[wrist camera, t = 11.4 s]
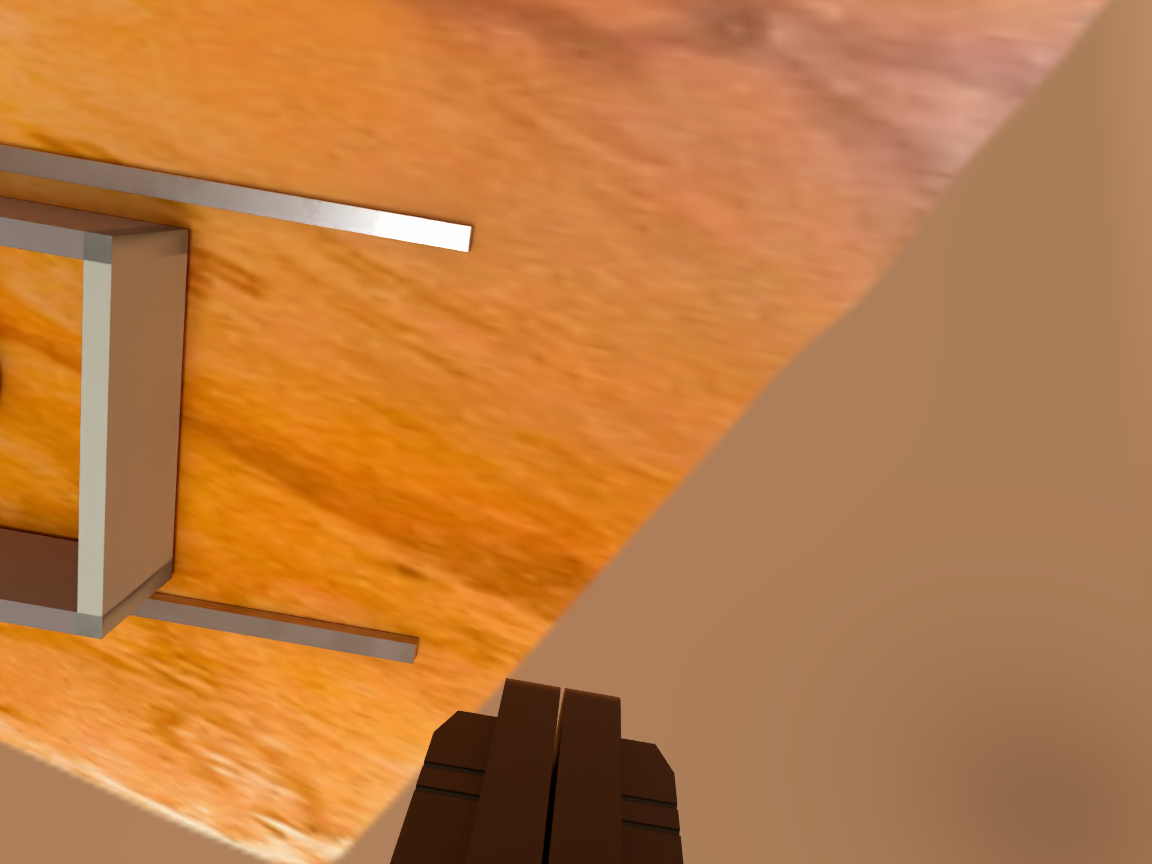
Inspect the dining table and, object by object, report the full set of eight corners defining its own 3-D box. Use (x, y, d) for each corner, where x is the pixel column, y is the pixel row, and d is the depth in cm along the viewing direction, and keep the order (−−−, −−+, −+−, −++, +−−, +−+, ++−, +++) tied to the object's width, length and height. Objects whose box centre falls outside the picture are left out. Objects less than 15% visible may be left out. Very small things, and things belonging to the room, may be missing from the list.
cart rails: (-124, 122, 44) (-138, 121, 43) (473, 226, 44) (471, 226, 43) (-105, 566, 50) (-117, 572, 50) (416, 656, 51) (413, 663, 50)
